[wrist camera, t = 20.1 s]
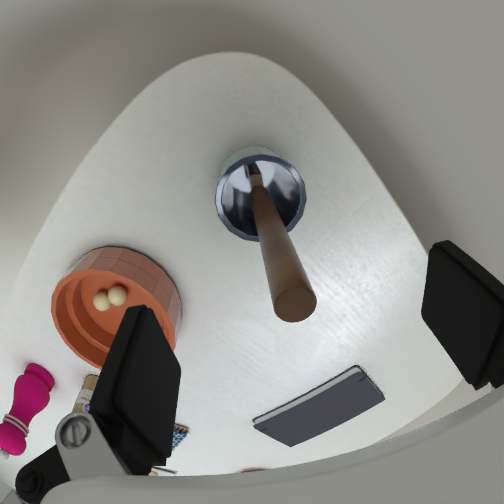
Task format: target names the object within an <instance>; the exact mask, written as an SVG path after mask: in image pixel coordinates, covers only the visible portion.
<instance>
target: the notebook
mask: <svg viewBox="0 0 504 504" xmlns="http://www.w3.org/2000/svg"><path fill="white" fill-rule="evenodd" d="M384 400H385V398H384V395H383V393H382V392H381V391H380V390H379V389H378V388H377V386H376V385H375V384H374V383H373V382H372V381H371V380H370V378H369V377H368V376H367V375H366V374H365V373H364V371H363V370H362V369H361V368H360V367H359V366H353V367H352V368H350V369H348V370H347V371H345V372H343V373H342V374H340V375H338V376H337V377H335V378H333V379H331V380H330V381H328V382H326V383H324V384H323V385H321V386H319V387H317V388H315V389H314V390H312V391H310V392H308V393H306V394H304V395H302V396H300V397H298V398H297V399H295V400H293V401H291V402H289V403H287V404H285V405H283V406H281V407H279V408H276V409H274V410H272V411H270V412H268V413H266V414H264V415H262V416H259V417H257V418H255V419H254V420H253V422H254V423H255V425H254V428H255V429H257V430H258V431H260V432H262V433H264V434H266V435H268V436H270V437H271V438H273V439H275V440H277V441H279V442H281V443H283V444H285V445H287V446H289V447H292V446H295V445H297V444H299V443H302V442H304V441H306V440H309V439H311V438H313V437H315V436H317V435H320V434H322V433H324V432H326V431H328V430H330V429H332V428H334V427H336V426H338V425H340V424H342V423H344V422H346V421H348V420H350V419H352V418H354V417H356V416H357V415H359V414H361V413H363V412H365V411H366V410H368V409H370V408H372V407H373V406H375V405H377V404H379V403H380V402H382V401H384Z"/></svg>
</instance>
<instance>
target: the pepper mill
mask: <svg viewBox="0 0 504 504" xmlns="http://www.w3.org/2000/svg"><path fill="white" fill-rule="evenodd" d="M53 386H54V379H53V377H52V376H51V375H50V373H49V372H48V371H46V370H45V369H44V368H42V367H41V366H39V365H37V364H29V365H28V366H27V368H26V369H25V371H24V375H21V376H19V377H18V378H17V380H16V382H15V386H14V400H13V405H12V408H11V410H10V412H9V414H5V417H4V418H3V422H4V423H1V424H0V448H1V449H0V456H1V457H2V458H3V459H7V458H8V457H9V454H11V455H15V456H17V455H21V454H22V453H23V452H24V451H25V449H26V441H25V437H27V434H28V433H29V429H28V426H29V423H30V422H31V420H32V418H33V417H34V416H35V415H36V414H37V413H39V412H40V411H42V410H43V409H44V408H45V407H46V406H47V404H48V403H49V400H50V395H49V392H50V391H51V390H52V388H53ZM8 453H9V454H8Z"/></svg>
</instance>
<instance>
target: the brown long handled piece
mask: <svg viewBox="0 0 504 504" xmlns="http://www.w3.org/2000/svg"><path fill="white" fill-rule="evenodd" d="M247 169H248V175H249V180H250V186H251V191H250V200H251V204H252V209H253V213H254V218H255V223H256V227H257V232H258V237H259V241H260V246H261V251H262V255H263V260H264V265H265V270H266V274H267V279H268V284H269V289H270V293H271V298H272V303H273V308H274V312H275V314H276V315H277V316H278V317H279V318H280V319H282V320H283V321H286V322H299V321H302V320H305V319H306V318H308V317H309V316H310V315H311V314H312V313H313V312H314V310H315V308H316V304H317V299H316V296H315V293H314V291H313V289H312V286H311V284H310V282H309V280H308V277H307V275H306V273H305V270H304V268H303V266H302V264H301V261H300V259H299V257H298V255H297V253H296V250H295V248H294V246H293V244H292V242H291V239H290V237H289V235H288V233H287V231H286V228H285V226H284V224H283V222H282V220H281V218H280V216H279V213H278V211H277V209H276V207H275V205H274V203H273V201H272V199H271V196H270V194H269V192H268V190H267V189H266V188H265V187H264V185H263V179H262V173H261V171H260V170H259V168H258V166H257V165H251V166H247Z"/></svg>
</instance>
